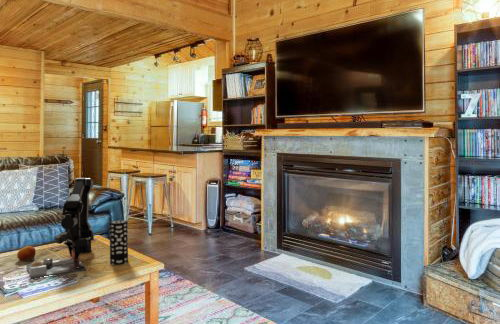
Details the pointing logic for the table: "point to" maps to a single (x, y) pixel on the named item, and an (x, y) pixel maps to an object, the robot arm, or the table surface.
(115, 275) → the table surface
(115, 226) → the spotted tube
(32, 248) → the fruit
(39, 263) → the wooden ball
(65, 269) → the base
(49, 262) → the lever
